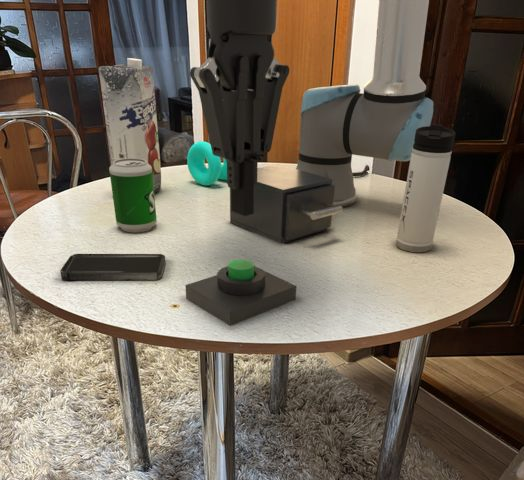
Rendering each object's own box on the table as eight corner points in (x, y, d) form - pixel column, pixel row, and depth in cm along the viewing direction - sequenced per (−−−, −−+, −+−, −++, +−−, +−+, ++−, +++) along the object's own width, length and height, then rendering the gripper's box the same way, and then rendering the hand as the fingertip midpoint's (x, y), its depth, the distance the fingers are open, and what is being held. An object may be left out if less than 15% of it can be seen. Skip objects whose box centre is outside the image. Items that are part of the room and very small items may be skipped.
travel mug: (432, 242, 94) (457, 125, 84) (430, 255, 89) (456, 132, 78) (397, 238, 96) (418, 122, 85) (393, 249, 91) (414, 128, 80)
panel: (250, 277, 79) (250, 252, 77) (295, 300, 73) (297, 274, 71) (186, 299, 72) (184, 273, 70) (230, 326, 66) (229, 298, 64)
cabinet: (327, 229, 99) (332, 179, 94) (280, 243, 92) (283, 189, 87) (276, 211, 108) (278, 164, 103) (230, 222, 101) (229, 173, 96)
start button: (242, 268, 73) (243, 257, 72) (259, 277, 71) (259, 265, 70) (222, 275, 71) (222, 263, 70) (239, 283, 69) (239, 271, 68)
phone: (71, 253, 82) (165, 253, 83) (73, 260, 83) (166, 260, 84) (58, 273, 76) (160, 273, 76) (59, 280, 76) (161, 280, 77)
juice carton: (110, 198, 113) (91, 58, 99) (131, 186, 122) (116, 56, 107) (147, 201, 111) (133, 60, 97) (166, 189, 120) (156, 57, 106)
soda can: (148, 235, 94) (141, 168, 87) (109, 231, 95) (100, 164, 88) (162, 222, 100) (157, 158, 94) (126, 219, 101) (119, 156, 95)
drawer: (347, 233, 95) (352, 190, 91) (304, 247, 88) (308, 201, 84) (282, 210, 106) (284, 171, 102) (239, 220, 99) (239, 179, 95)
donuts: (242, 182, 128) (242, 139, 122) (215, 190, 121) (214, 145, 116) (213, 175, 133) (212, 134, 127) (185, 182, 126) (183, 139, 121)
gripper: (264, -6, 60) (260, 196, 72) (169, -12, 52) (184, 215, 65) (310, -7, 55) (298, 209, 68) (213, -14, 48) (220, 231, 60)
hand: (242, 212), depth 66 cm, fingers closed
